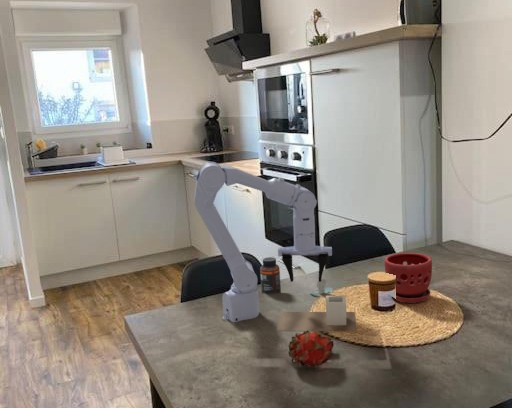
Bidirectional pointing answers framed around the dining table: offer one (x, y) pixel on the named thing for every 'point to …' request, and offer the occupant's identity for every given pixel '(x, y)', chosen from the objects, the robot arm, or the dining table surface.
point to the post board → (313, 322)
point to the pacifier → (322, 288)
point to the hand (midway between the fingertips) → (305, 280)
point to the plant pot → (410, 276)
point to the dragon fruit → (310, 348)
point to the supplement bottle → (270, 276)
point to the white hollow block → (335, 310)
